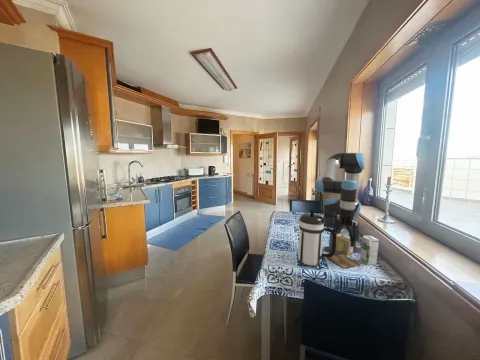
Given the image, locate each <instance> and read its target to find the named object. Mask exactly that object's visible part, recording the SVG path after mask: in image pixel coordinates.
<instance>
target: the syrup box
mask: <svg viewBox="0 0 480 360" xmlns="http://www.w3.org/2000/svg"><path fill="white" fill-rule="evenodd" d="M379 241H380V239H378V238H377V237H376V238H375V237H374V236H372V235H362V239H361V247H360V249H361V252H360V258H359V260H360V261H361V262H362V263H364V264H365V265H366V266H375V265H377V261H378V260H377V259H378V251H379V245H380V244H379Z"/></svg>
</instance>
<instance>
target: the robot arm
mask: <svg viewBox="0 0 480 360" xmlns="http://www.w3.org/2000/svg"><path fill="white" fill-rule="evenodd" d="M365 163H366V162H365V155H364V153H362V152H360V153H359V152H338V153H335V154H333V155H331V156H329V157H328V158H327V160H326V161H325V168H324V171H323V174H322V176H321V177H322V178H321V179H316V181H315V191H316V192H319V193H323V194H324V193H327V194H334V195H335V194H336V195H337V194H338V195H340V198H338V197H331V198H330V197H329V198H326V199H325V200H324V204H323V205H324V206H323V207H324V208H323V216H322V217H323V219H324V220H325V223H324V227H325V226H326V227H325V228H329V227H330V229H332V230H334V232H335V233H336V236H341V234H339V233H341V231H343V230H342V229H343V227H344V226H346V229H347V231H348V232H349V235H348V236H349V239H350V240H349V246H348V252H353V247H354V246H355V241H356V242H358V241H359V240H360V239H359V238H360V236H359V235H360V233H359V224H360V222H359V221H355V219H354V218H356V217H358V216H359V215H360V212H361V207H362V203H361V202H360V200H359V199H358V193H359V183H360V174H361V173H362V172H363V170H365V167H366V165H365ZM339 169H341V170H344V172H345V174H346V175H345V179H343V180H339V181H338V180H336V175H337V173H338V170H339Z"/></svg>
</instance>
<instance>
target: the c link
mask: <svg viewBox="0 0 480 360" xmlns="http://www.w3.org/2000/svg"><path fill="white" fill-rule="evenodd" d="M349 240H350V238H348V237H346V236H342V235H341V236H336V250H337V251H342V250H344V255H345V256H347V257H349V256H353V254H354V253H353V252H348V246H349ZM344 244H345V245H344Z"/></svg>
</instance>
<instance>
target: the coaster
mask: <svg viewBox="0 0 480 360" xmlns="http://www.w3.org/2000/svg"><path fill="white" fill-rule="evenodd" d="M326 259H327V260H329V261H330V262H331V263H334V264H335V265H336V266H338V267H339V266H340V267H339V268H341V269H342V268H343V270H345V269H349V268H350V269H351V268H353V267H354V268H355V267H359V266H361V263H360V262H357V261H355V260H353V259H352V258H351V257H349V256H346V255H343V254H340V255H333V256H332V257H326Z"/></svg>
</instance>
